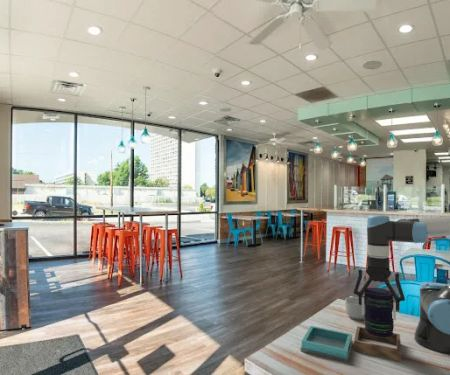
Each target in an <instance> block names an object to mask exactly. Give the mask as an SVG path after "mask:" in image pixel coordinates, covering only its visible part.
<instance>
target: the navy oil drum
mask: <svg viewBox="0 0 450 375" xmlns="http://www.w3.org/2000/svg"><path fill="white" fill-rule="evenodd" d="M363 296H364V304H365V315H364V320H363V322H364V323H363V324H364V327H365V331H366V332H367V333H368V334H371V335H373V336H377V337H384V338H387V337H392V336H393V333H394V332H393V331H394V321H395V320H394V319H393V300H394V297H393V294H391V292H390V290H389V289H385V288H379V287H368V288H367V289H366V291H365V292H364V294H363Z"/></svg>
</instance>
